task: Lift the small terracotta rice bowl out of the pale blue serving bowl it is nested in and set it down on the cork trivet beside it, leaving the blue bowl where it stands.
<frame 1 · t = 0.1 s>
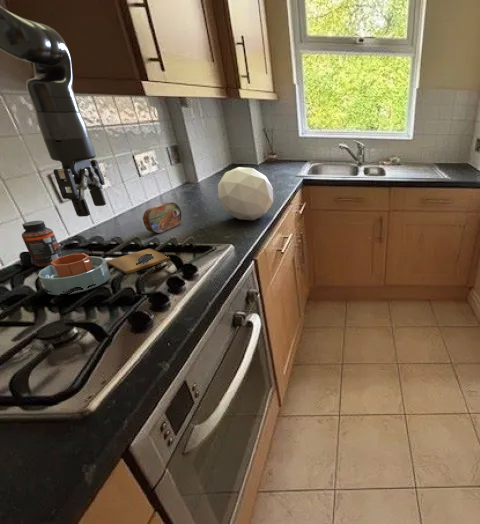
hand: (92, 210, 76), 17 cm above the worktop, tool pointing down, fingers open, 8 cm apart
tin: (166, 229, 114), on the worktop
ball: (249, 218, 127), on the worktop
trivet: (139, 261, 90), on the worktop
big bowl: (80, 283, 79), on the worktop, touching small bowl
supplement bottle: (50, 263, 89), on the worktop
small bowl: (79, 282, 79), resting on big bowl
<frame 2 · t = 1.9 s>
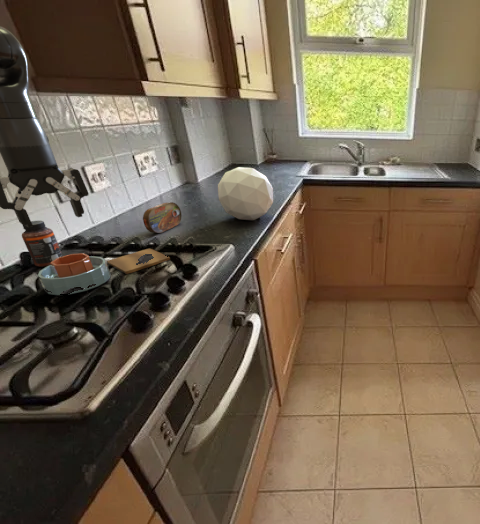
hand: (55, 221, 72), 16 cm above the worktop, tool pointing down, fingers open, 8 cm apart
nothing on the worktop moved.
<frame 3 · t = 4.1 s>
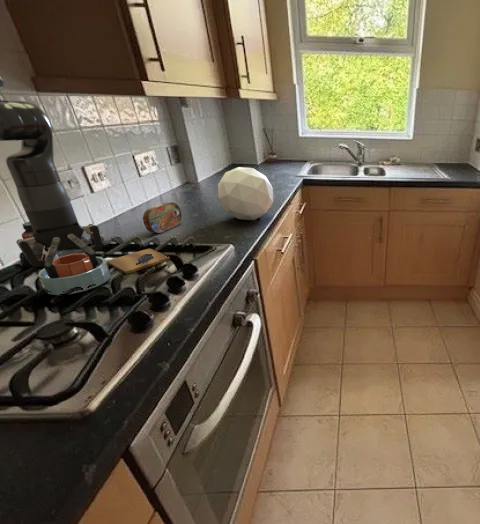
hand: (75, 273, 78), 3 cm above the worktop, tool pointing down, fingers closed on small bowl, 6 cm apart
small bowl: (79, 282, 79), resting on big bowl, touching gripper
everything else where it was.
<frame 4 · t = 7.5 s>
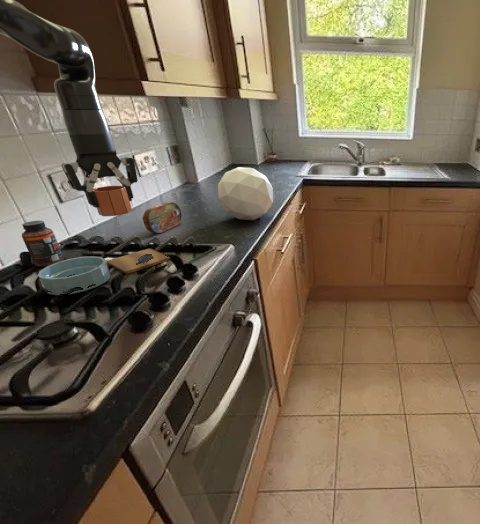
hand: (113, 203, 82), 17 cm above the worktop, tool pointing down, fingers closed on small bowl, 6 cm apart
big bowl: (80, 283, 79), on the worktop
small bowl: (116, 212, 83), point 14 cm above the worktop, touching gripper
everything else where it was.
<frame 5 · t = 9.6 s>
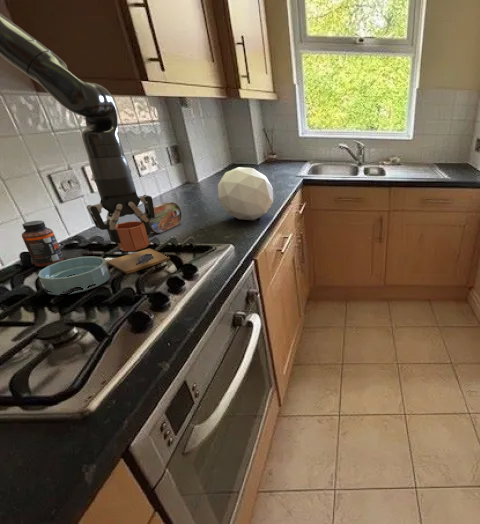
hand: (132, 238, 88), 7 cm above the worktop, tool pointing down, fingers closed on small bowl, 6 cm apart
small bowl: (135, 246, 88), point 4 cm above the worktop, touching gripper
everything else where it was.
when the fingers open (3 cm above the worktop, at t = 11.1 s): small bowl stays where it is, resting on trivet.
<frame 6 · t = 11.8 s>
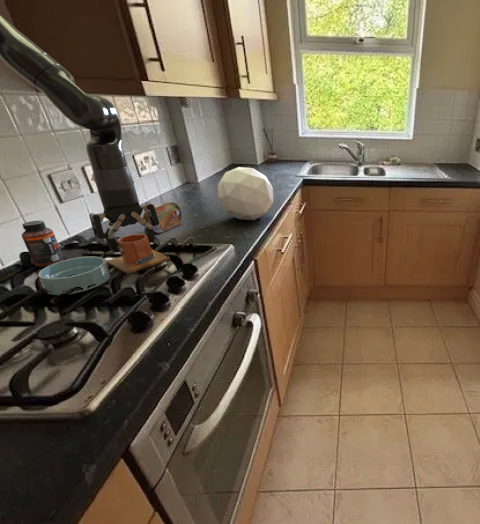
hand: (134, 246, 88), 5 cm above the worktop, tool pointing down, fingers open, 8 cm apart
small bowl: (138, 258, 90), point 1 cm above the worktop, touching trivet
everything else where it was.
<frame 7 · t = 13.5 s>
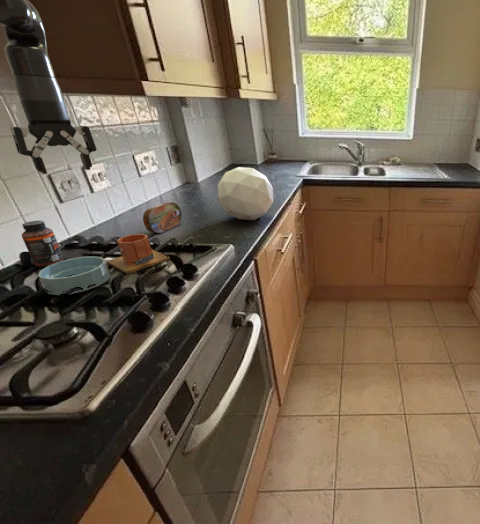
hand: (66, 171, 82), 24 cm above the worktop, tool pointing down, fingers open, 8 cm apart
nothing on the worktop moved.
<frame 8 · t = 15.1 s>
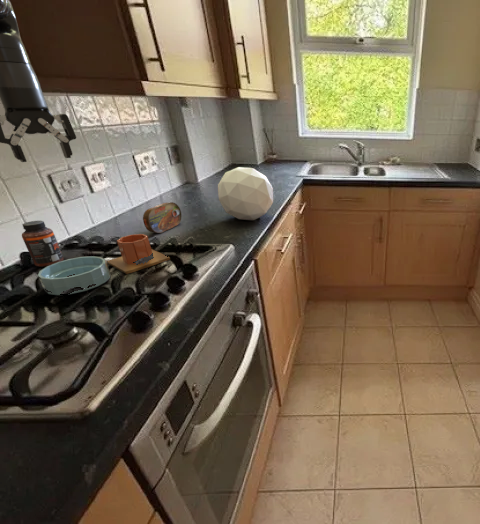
hand: (46, 159, 82), 26 cm above the worktop, tool pointing down, fingers open, 8 cm apart
nothing on the worktop moved.
at the end: small bowl 0.1 cm off-centre on the trivet, point 0.8 cm above the trivet's base; small bowl tilted 0°; big bowl moved 0.0 cm from its start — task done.
